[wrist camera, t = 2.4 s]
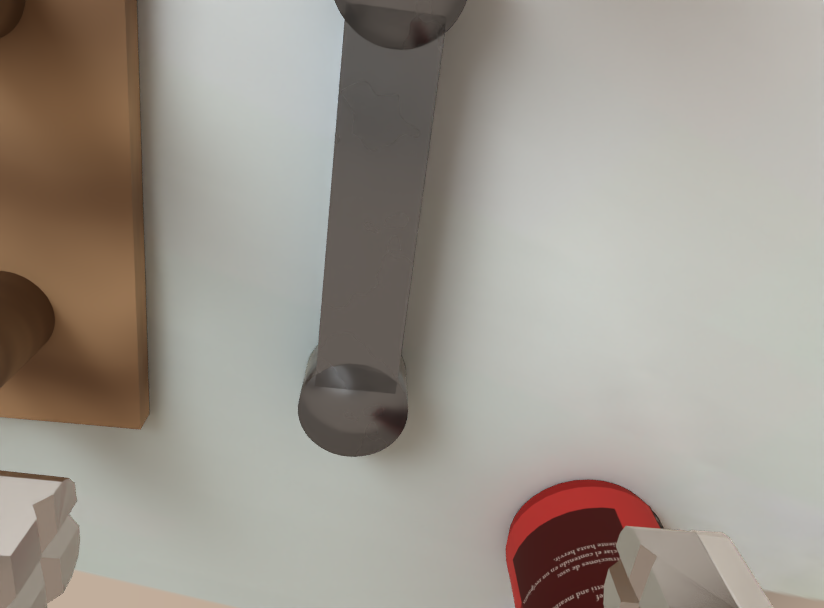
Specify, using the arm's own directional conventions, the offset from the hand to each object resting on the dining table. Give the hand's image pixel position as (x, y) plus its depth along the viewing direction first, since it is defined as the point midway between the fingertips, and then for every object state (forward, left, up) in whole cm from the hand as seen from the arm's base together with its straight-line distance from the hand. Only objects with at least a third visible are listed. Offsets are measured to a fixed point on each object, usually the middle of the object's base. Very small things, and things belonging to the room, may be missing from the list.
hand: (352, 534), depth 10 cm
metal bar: (0, 0, -19) cm, 19 cm away
